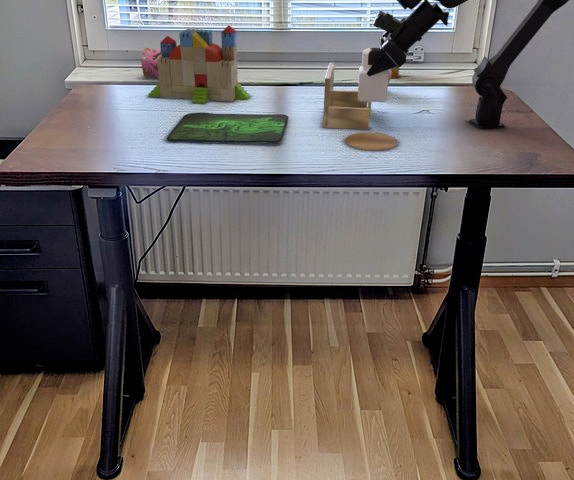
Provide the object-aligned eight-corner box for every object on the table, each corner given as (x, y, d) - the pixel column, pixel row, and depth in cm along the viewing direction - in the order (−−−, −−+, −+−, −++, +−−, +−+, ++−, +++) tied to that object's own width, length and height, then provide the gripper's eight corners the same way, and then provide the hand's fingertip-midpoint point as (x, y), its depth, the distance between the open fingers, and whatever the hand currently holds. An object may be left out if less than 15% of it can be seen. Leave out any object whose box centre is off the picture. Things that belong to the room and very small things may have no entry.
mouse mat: (164, 141, 148) (163, 137, 147) (185, 114, 166) (185, 110, 166) (281, 145, 146) (281, 141, 145) (289, 117, 164) (289, 113, 164)
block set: (144, 100, 178) (136, 27, 168) (161, 88, 190) (154, 19, 180) (241, 106, 174) (239, 31, 164) (253, 93, 186) (251, 22, 176)
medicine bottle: (385, 94, 164) (389, 46, 158) (386, 102, 158) (390, 52, 152) (358, 94, 165) (360, 45, 159) (357, 101, 159) (360, 51, 152)
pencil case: (212, 75, 204) (210, 46, 200) (207, 82, 196) (206, 52, 192) (146, 73, 205) (143, 45, 200) (139, 80, 197) (136, 51, 193)
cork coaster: (405, 148, 145) (405, 146, 145) (356, 152, 143) (356, 150, 142) (385, 132, 155) (385, 130, 155) (338, 136, 153) (338, 134, 152)
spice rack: (370, 110, 172) (374, 64, 165) (369, 129, 157) (373, 80, 151) (328, 108, 173) (330, 62, 167) (323, 127, 158) (324, 78, 152)
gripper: (394, -7, 157) (347, 40, 164) (395, 4, 141) (344, 55, 148) (423, 27, 160) (376, 72, 167) (427, 41, 144) (375, 90, 151)
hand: (368, 71), depth 158 cm, fingers closed on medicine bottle, 7 cm apart
